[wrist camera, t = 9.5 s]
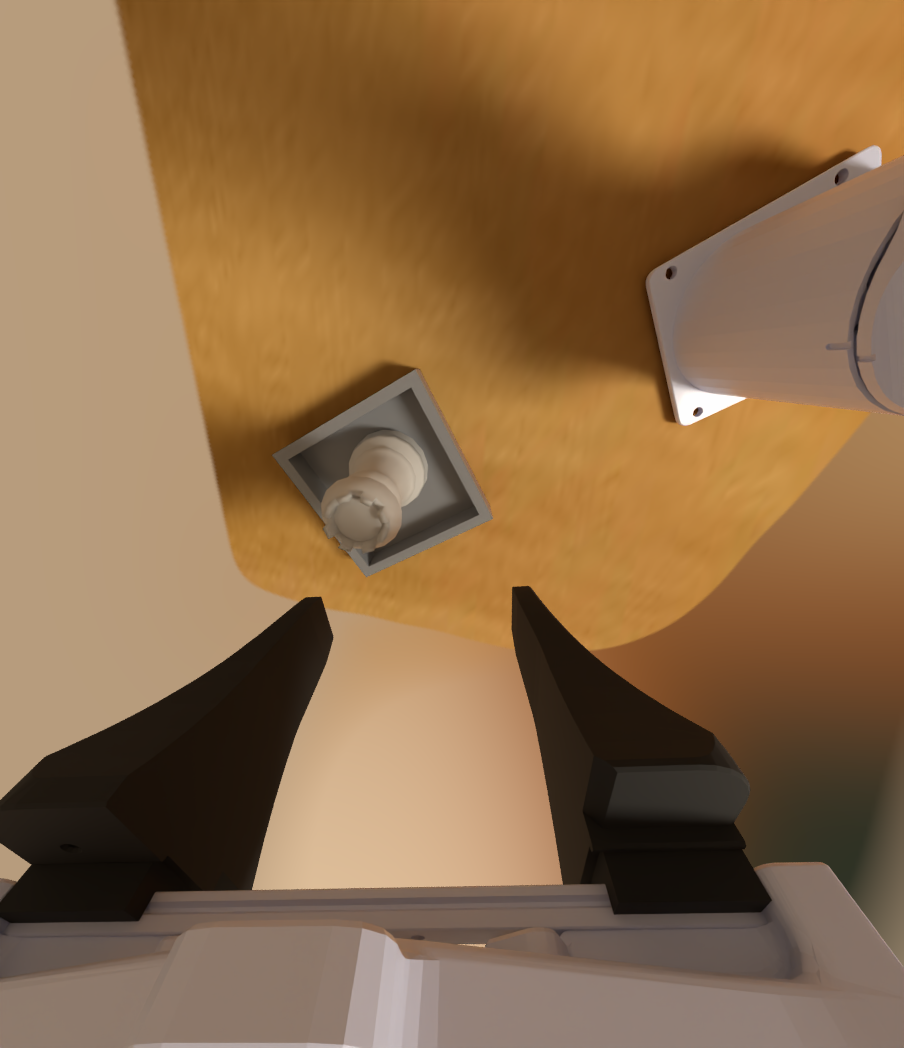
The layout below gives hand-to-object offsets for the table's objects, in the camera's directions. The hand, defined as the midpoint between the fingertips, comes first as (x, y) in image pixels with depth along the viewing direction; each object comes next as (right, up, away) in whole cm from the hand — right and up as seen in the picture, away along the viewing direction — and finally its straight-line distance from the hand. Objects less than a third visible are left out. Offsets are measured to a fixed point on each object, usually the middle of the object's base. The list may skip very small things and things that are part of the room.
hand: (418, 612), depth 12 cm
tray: (-2, +6, +8) cm, 10 cm away
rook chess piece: (-2, +7, +7) cm, 10 cm away
